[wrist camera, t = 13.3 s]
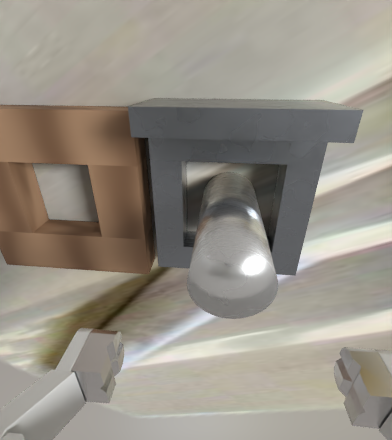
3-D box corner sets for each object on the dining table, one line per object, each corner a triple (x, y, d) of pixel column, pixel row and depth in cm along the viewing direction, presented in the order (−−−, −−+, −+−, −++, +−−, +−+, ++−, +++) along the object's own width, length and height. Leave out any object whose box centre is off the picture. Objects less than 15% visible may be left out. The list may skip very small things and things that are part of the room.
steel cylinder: (202, 218, 24) (187, 315, 14) (203, 171, 22) (186, 247, 12) (252, 220, 23) (271, 322, 14) (258, 173, 21) (285, 253, 12)
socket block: (24, 249, 27) (7, 264, 25) (-31, 104, 21) (-61, 107, 19) (155, 257, 26) (148, 274, 24) (141, 106, 20) (131, 110, 17)
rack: (164, 250, 26) (148, 294, 21) (154, 98, 19) (127, 106, 14) (289, 257, 25) (306, 306, 20) (323, 100, 18) (363, 110, 13)
